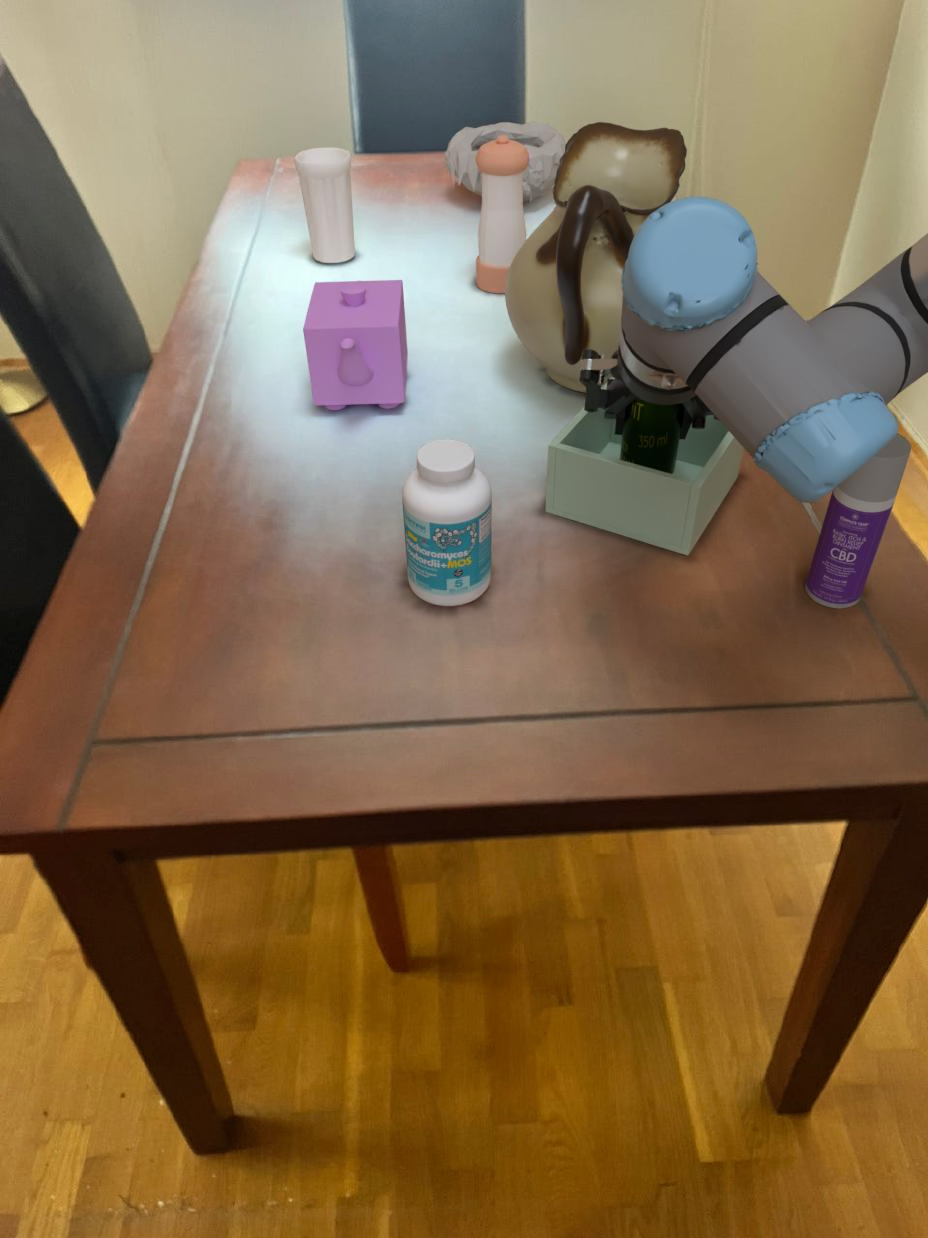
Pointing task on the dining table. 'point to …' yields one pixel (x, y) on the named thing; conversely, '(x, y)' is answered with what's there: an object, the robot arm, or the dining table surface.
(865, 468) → the container
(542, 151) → the bowl
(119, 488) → the dining table surface
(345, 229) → the cup
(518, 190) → the pepper shaker
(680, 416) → the beer can
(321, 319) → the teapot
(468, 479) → the pill bottle
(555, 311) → the pitcher
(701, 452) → the bin
